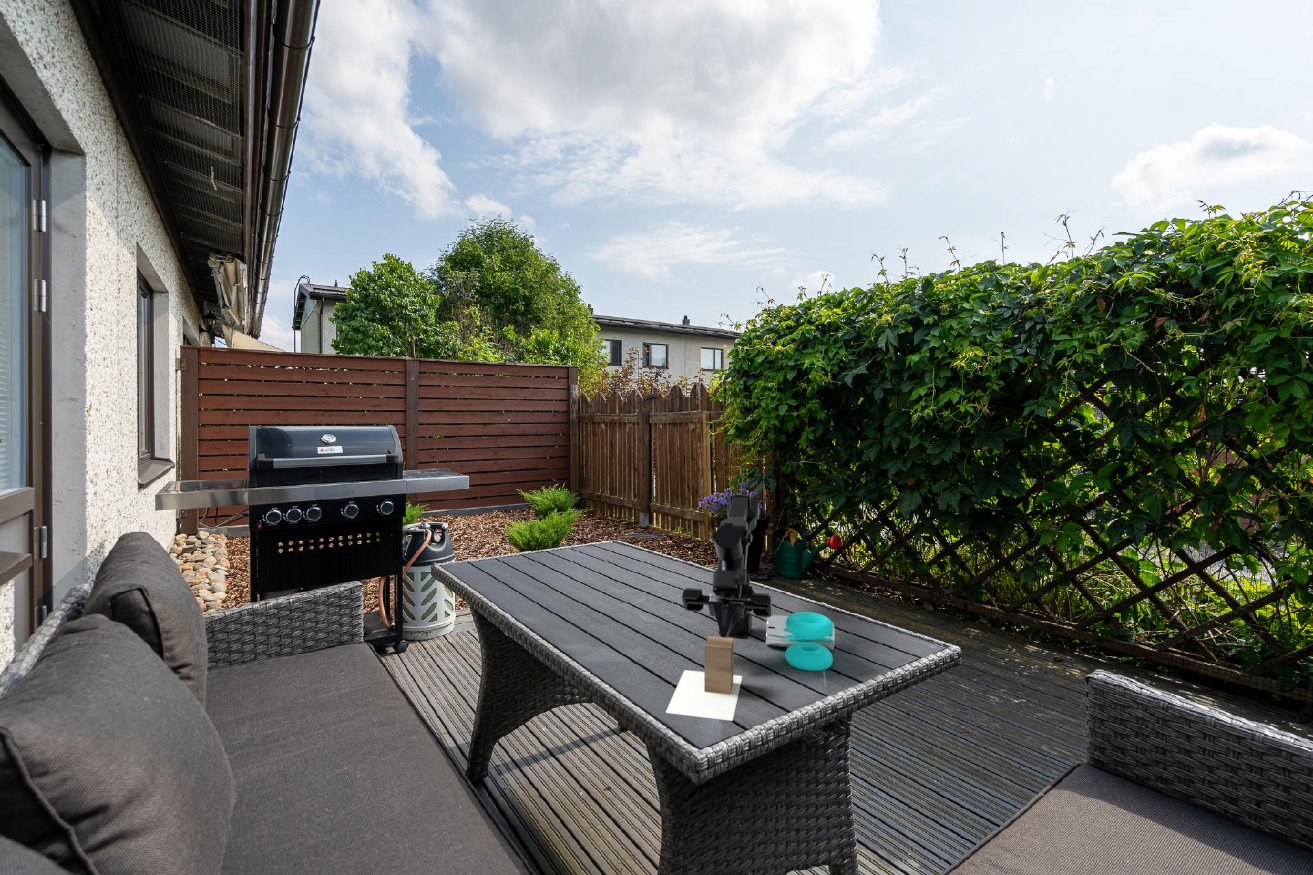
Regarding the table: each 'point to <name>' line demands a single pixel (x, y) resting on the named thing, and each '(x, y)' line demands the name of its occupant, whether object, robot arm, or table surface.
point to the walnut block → (718, 665)
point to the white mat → (703, 698)
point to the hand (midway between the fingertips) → (723, 640)
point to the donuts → (807, 652)
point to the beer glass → (783, 638)
